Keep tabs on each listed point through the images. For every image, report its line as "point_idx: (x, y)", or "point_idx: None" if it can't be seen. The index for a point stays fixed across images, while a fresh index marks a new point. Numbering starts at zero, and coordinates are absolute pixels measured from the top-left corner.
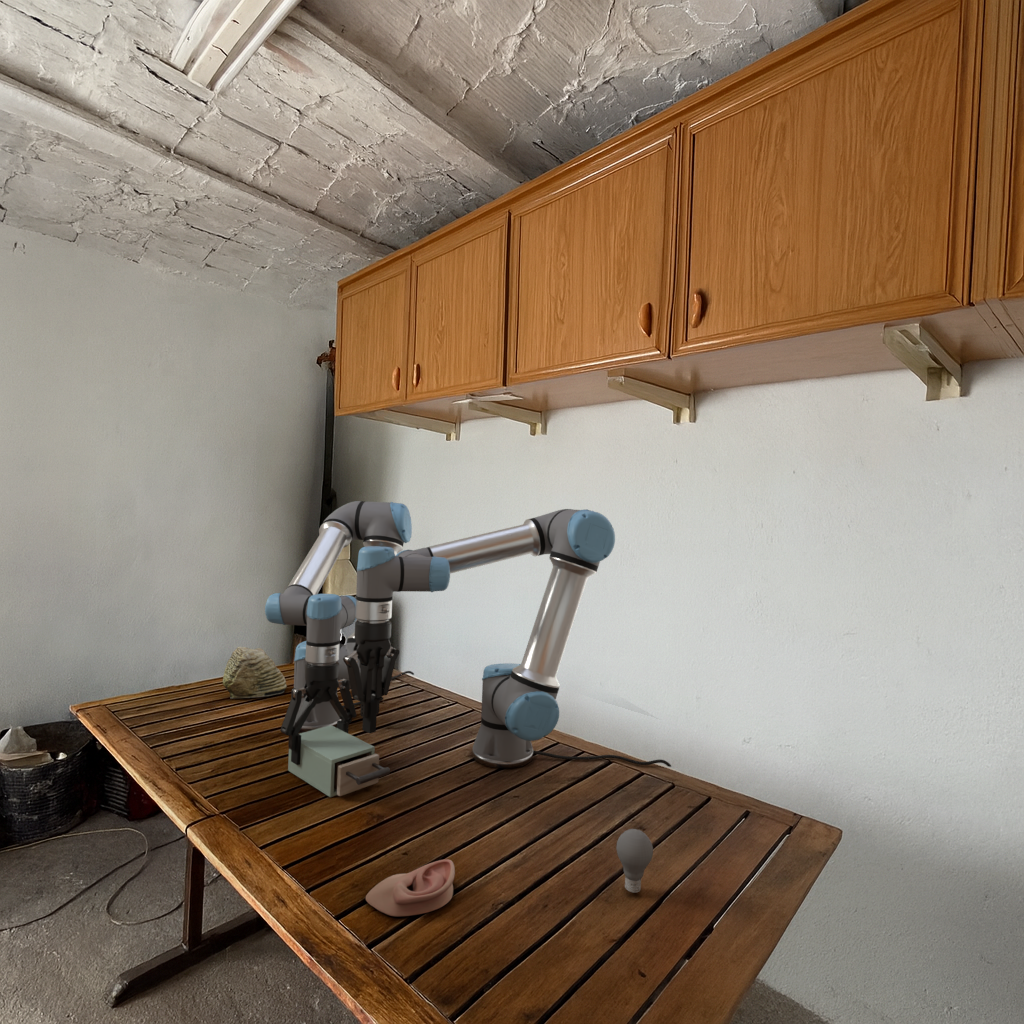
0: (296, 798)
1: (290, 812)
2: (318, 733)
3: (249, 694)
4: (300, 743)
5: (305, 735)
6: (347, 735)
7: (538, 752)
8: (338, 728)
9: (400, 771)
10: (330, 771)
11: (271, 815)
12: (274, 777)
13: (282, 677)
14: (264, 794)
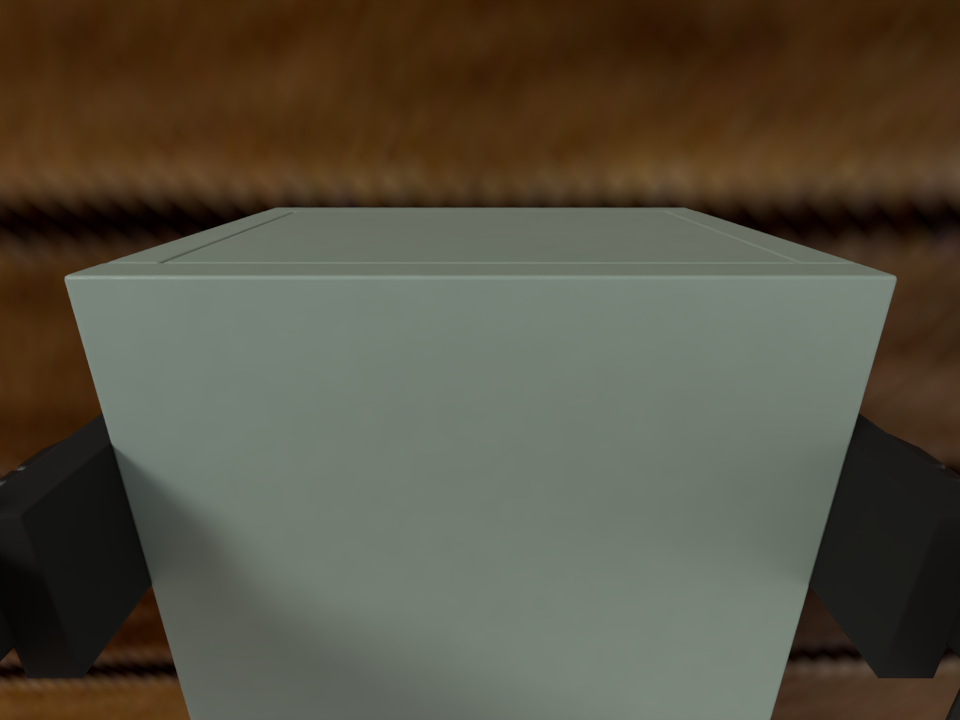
0: None
1: (104, 683)
2: (505, 457)
3: None
4: (146, 582)
5: (306, 410)
6: (729, 712)
7: None
8: (841, 483)
9: (826, 675)
10: None
11: (7, 657)
12: (141, 250)
13: None
14: (14, 445)
